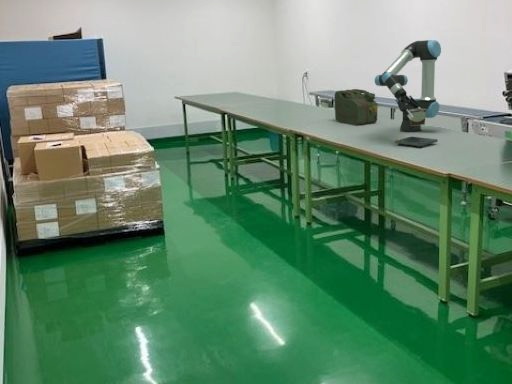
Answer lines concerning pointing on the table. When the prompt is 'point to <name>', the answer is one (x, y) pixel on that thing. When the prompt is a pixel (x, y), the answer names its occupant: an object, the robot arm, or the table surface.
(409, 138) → the levelling stand
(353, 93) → the fuel can
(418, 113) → the food container
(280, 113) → the table surface
